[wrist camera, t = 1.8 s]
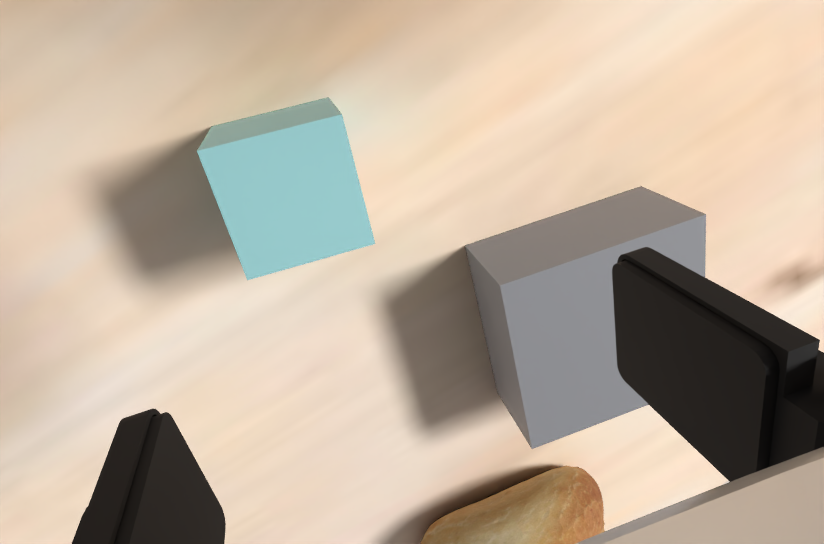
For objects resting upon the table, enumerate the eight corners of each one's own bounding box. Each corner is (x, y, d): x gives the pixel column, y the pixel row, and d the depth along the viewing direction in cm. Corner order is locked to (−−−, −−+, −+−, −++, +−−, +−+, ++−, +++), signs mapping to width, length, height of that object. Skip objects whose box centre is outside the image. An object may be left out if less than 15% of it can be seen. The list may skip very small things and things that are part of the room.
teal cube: (211, 126, 27) (196, 150, 21) (328, 97, 27) (341, 114, 22) (251, 234, 29) (247, 280, 24) (357, 205, 30) (375, 243, 25)
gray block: (463, 243, 33) (500, 285, 28) (638, 185, 34) (705, 214, 29) (496, 390, 38) (531, 449, 33) (646, 335, 40) (703, 383, 34)
